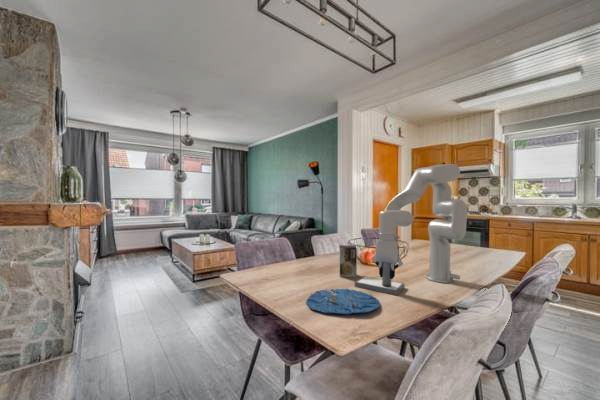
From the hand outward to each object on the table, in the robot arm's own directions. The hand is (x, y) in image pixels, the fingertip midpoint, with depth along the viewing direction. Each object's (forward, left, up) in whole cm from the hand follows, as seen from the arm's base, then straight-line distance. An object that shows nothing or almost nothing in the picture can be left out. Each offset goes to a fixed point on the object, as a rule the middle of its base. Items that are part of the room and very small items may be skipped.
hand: (386, 277), depth 119 cm
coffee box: (+24, -11, -6) cm, 27 cm away
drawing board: (+4, -3, -6) cm, 8 cm away
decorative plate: (+11, +24, -7) cm, 28 cm away
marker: (0, 0, -4) cm, 4 cm away
